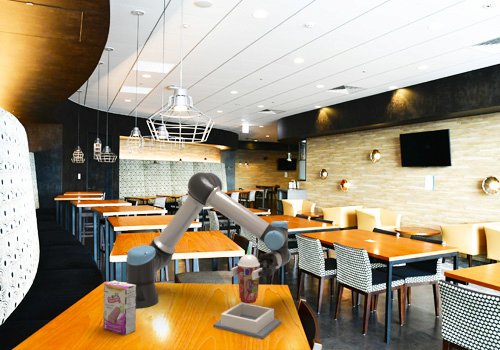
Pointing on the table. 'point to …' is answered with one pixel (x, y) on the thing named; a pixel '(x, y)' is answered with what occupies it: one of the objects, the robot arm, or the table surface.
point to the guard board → (248, 320)
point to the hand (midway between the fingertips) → (242, 274)
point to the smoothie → (248, 278)
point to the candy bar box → (119, 307)
